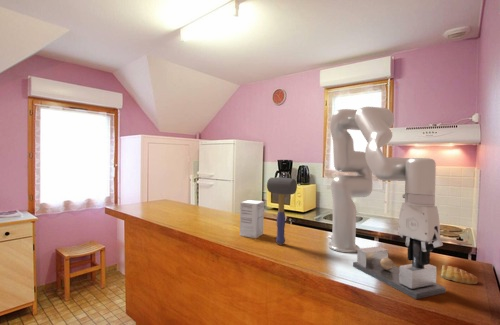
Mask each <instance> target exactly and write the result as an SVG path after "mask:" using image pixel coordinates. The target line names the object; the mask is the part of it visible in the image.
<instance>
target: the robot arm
mask: <svg viewBox="0 0 500 325" xmlns="http://www.w3.org/2000/svg"><path fill="white" fill-rule="evenodd" d="M394 123H395V115H394V113H393V111H392V110H390V109H389V108H387V107H377V106H364V107H363V106H362V107H360V108H359V109H348V108H345V109H338V110H336V111H334V112H333V114H332V115H331V117H330V122H329V128H330V129H329V130H330V134H331V138H332V146H333V147H332V148H333V167H334V169H335V171H337V172H339V173H351V174H352V173H353V174H354V173H355V175H346V174H344V175H337V176H335V177H334V178H333V179H332V180H331V183H330V189H331V196H332V233H331V234H330V235H328V238H329V239H330V242H328V248H329V249H331V250H333V251H337V252H341V253H350V254H351V253H357V251H358V249H360V246H359V245H357V244H356V233H357V231H356V230H357V229H356V227H357V208H356V204H355V202H354V200H353V199H352V198H367V197H369V196H370V195H371V194H372V192H373V175H374V177H375V178H376V179H378V180H380V181H383V182H388V181H389V182H390V181H391V182H394V181H395V182H396V181H397V182H398V181H399V182H404V193H403V194H402V199H404V202H401V203H402V204H401V207H400V211H399V215H398V229H397V230H398V231H397V234H398V235H399V236H400V238H402V240H403V241H404V243H405V246H406V247H407V252H406V254H407V260H408V261H411V262H412V248H413V239H416V240H420V241H421V247H422V251H420V259H419V264H420V265H428V264H430V260H431V258H430V257H431V252H432V251H433V250H434V249H436V248H439V247H442V246H444V244H443V241H442V239H441V237H440V236H441V235H440V234H441V225H440V216H439V215H440V214H439V210H438V207H437V206H436V173H437V172H436V170H437V168H436V166H437V165H436V164H437V163H436V161H435V159H433V158H429V157H428V158H427V157H410V158H409V157H391V156H389V157H388V156H385V154H384V153H383V151H382V150H381V148H382V147H384V146H385V145H387V144H388V143H389V142H390V141H391V140H392V138H393V132H392V130H391V129H390V128H391V127H392V126H393V124H394ZM349 130H353V131H360V132H361V134H362V135H363V137H364V139H365V140H366V142H367V144H366V147H365V150H364V151H365V152H364V151H358V150H357V151H356V150H355V148H354V139H353V137H352V135H351V133H350V132H348V131H349Z"/></svg>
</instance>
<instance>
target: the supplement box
mask: <svg viewBox="0 0 500 325" xmlns="http://www.w3.org/2000/svg"><path fill="white" fill-rule="evenodd" d="M239 203H240V206H239V208H240V209H239V236H240V237H246V238H252V239H257V238H259V237H260V236H262V235H263V234H264V220H265V218H264V213H265V209H264V208H265V206H264V205H265V201H263V200H253V199H252V200H251V199H248V200H244V201H240V202H239Z"/></svg>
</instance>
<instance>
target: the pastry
mask: <svg viewBox="0 0 500 325" xmlns="http://www.w3.org/2000/svg"><path fill="white" fill-rule="evenodd" d="M440 277H441V278H443V279H445V280H448V281H453V282H456V283H460V284H466V285H476V284H478V276H475V275H474V274H473V273H469V271H466V270H464V269H461V268H459V267H457V266H451V265H448V266H447V265H445V264H442V267H441V274H440Z"/></svg>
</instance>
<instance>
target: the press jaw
mask: <svg viewBox="0 0 500 325" xmlns="http://www.w3.org/2000/svg"><path fill="white" fill-rule="evenodd" d="M420 251H422V247H421V241H420V240H416V239H413V248H412V260H411V263H408V264H404V265H403V264H402V265H399V268H400V273H399V283H401V284H403V285H405V286H407V287H409V288H411V289H413V288H418V287H423V286H428V285H433V284H437V270H438V269H437V266H436V265H433V264H430V263H429V264H428V265H420V264H419V259H420Z"/></svg>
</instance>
